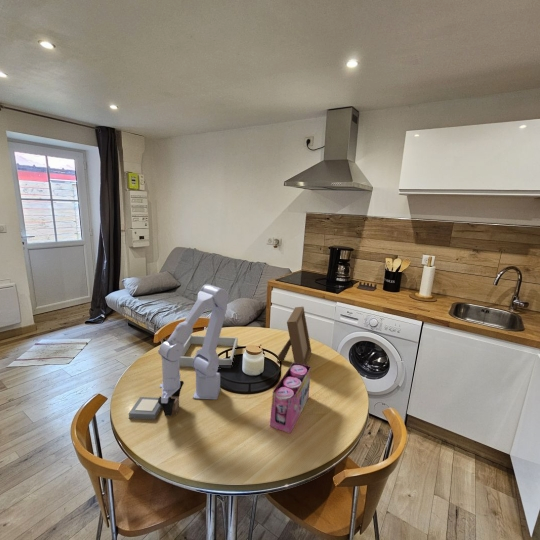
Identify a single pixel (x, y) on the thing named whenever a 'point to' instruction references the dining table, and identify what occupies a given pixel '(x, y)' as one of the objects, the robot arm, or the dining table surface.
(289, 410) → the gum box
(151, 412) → the plate
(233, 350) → the grey corral
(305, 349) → the photo frame
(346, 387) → the dining table surface
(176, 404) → the walnut block
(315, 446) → the dining table surface
